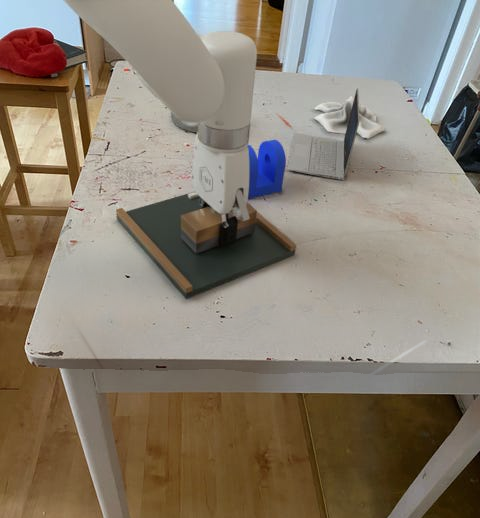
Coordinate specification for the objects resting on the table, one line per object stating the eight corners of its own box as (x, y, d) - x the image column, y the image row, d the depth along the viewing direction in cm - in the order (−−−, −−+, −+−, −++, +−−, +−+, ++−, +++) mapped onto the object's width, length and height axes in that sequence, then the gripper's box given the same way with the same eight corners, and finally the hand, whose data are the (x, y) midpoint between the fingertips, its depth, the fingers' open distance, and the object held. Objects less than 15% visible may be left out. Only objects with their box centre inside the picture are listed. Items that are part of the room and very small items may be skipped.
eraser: (196, 253, 78) (196, 231, 75) (180, 237, 80) (180, 215, 77) (254, 232, 83) (257, 210, 80) (238, 218, 86) (240, 196, 82)
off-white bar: (190, 199, 90) (190, 196, 89) (187, 196, 90) (187, 193, 90) (206, 194, 91) (206, 191, 91) (203, 192, 92) (203, 189, 91)
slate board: (185, 299, 72) (185, 288, 71) (116, 219, 85) (115, 209, 83) (294, 254, 82) (296, 244, 81) (218, 189, 95) (218, 179, 93)
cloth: (386, 143, 116) (394, 118, 112) (312, 132, 117) (316, 107, 113) (381, 108, 132) (387, 84, 127) (315, 98, 132) (319, 75, 128)
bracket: (281, 191, 97) (288, 149, 90) (246, 199, 93) (250, 156, 87) (238, 151, 107) (242, 111, 100) (205, 157, 104) (207, 116, 97)
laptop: (293, 136, 115) (303, 79, 105) (344, 144, 114) (358, 87, 105) (286, 172, 102) (297, 111, 93) (344, 181, 102) (360, 121, 92)
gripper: (172, 113, 71) (174, 215, 84) (235, 163, 62) (227, 268, 75) (213, 104, 75) (210, 204, 88) (280, 151, 66) (264, 254, 79)
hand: (218, 233), depth 81 cm, fingers closed on eraser, 5 cm apart
